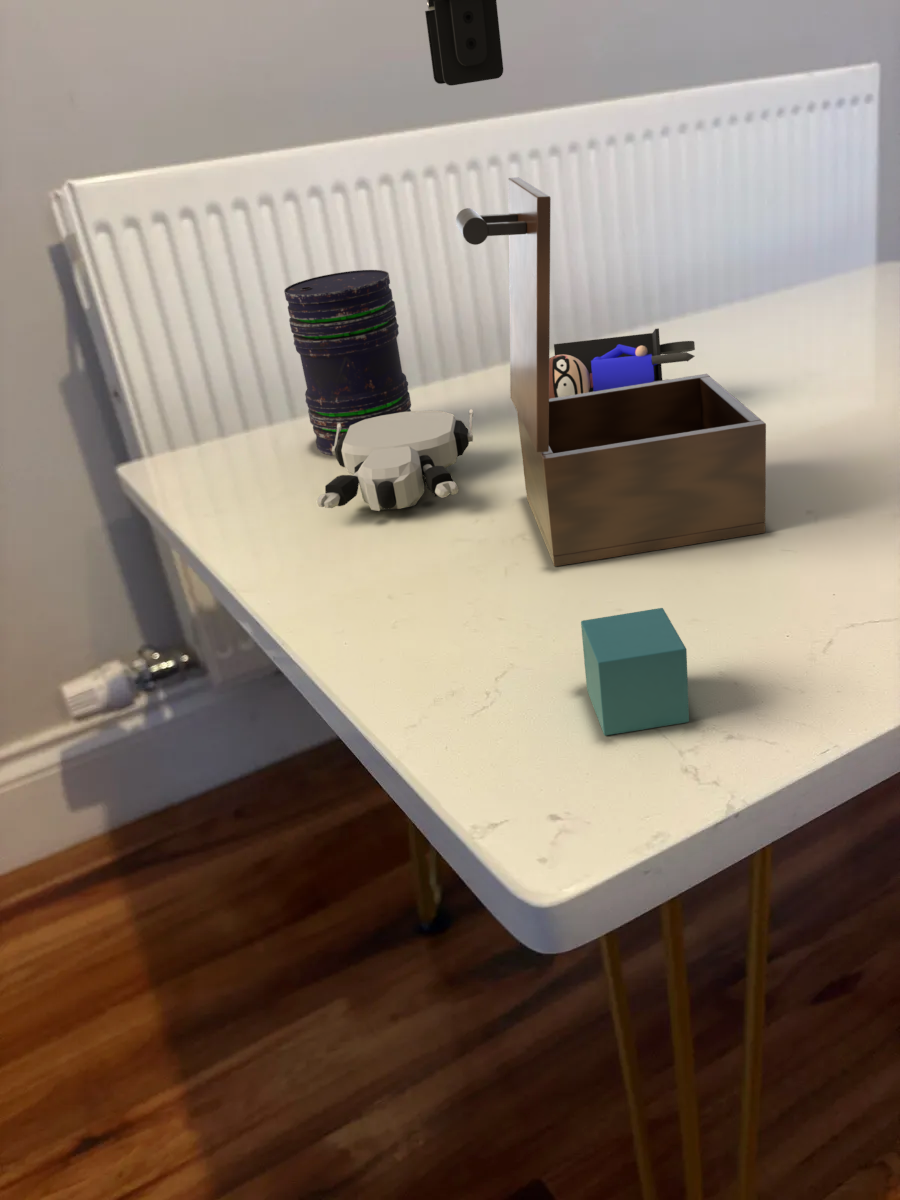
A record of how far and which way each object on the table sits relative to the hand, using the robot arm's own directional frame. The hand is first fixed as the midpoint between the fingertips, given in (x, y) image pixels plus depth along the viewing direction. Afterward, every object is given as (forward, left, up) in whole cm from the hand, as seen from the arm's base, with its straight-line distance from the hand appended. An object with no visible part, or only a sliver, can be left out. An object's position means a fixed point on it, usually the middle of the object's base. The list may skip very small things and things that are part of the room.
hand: (466, 81), depth 59 cm
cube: (-3, +22, -30) cm, 37 cm away
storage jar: (+11, -30, -30) cm, 44 cm away
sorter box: (-9, -2, -30) cm, 31 cm away
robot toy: (+8, -15, -30) cm, 35 cm away
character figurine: (-13, -25, -30) cm, 42 cm away
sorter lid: (-3, -2, -14) cm, 15 cm away
